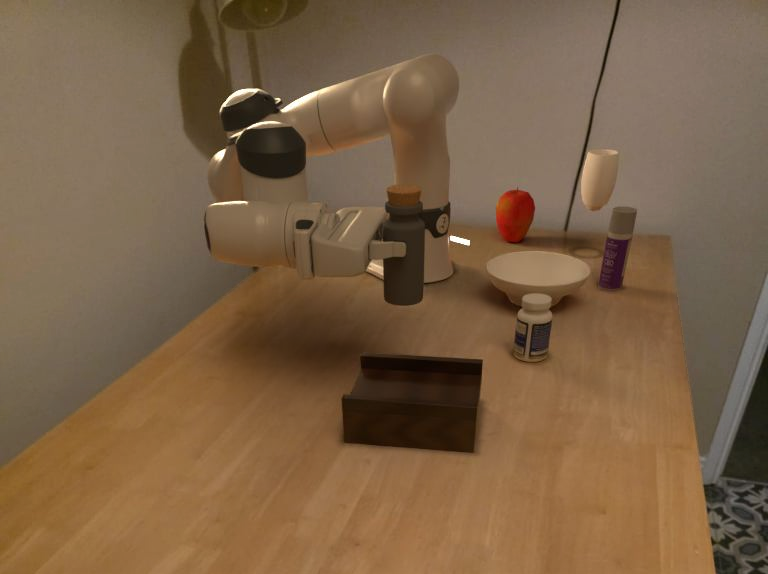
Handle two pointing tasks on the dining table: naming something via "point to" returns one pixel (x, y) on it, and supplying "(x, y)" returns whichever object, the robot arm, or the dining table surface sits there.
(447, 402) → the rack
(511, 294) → the bowl
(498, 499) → the dining table surface
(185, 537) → the dining table surface
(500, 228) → the apple
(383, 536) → the dining table surface
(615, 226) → the container
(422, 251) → the bottle
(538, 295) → the pill bottle
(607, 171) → the cup
